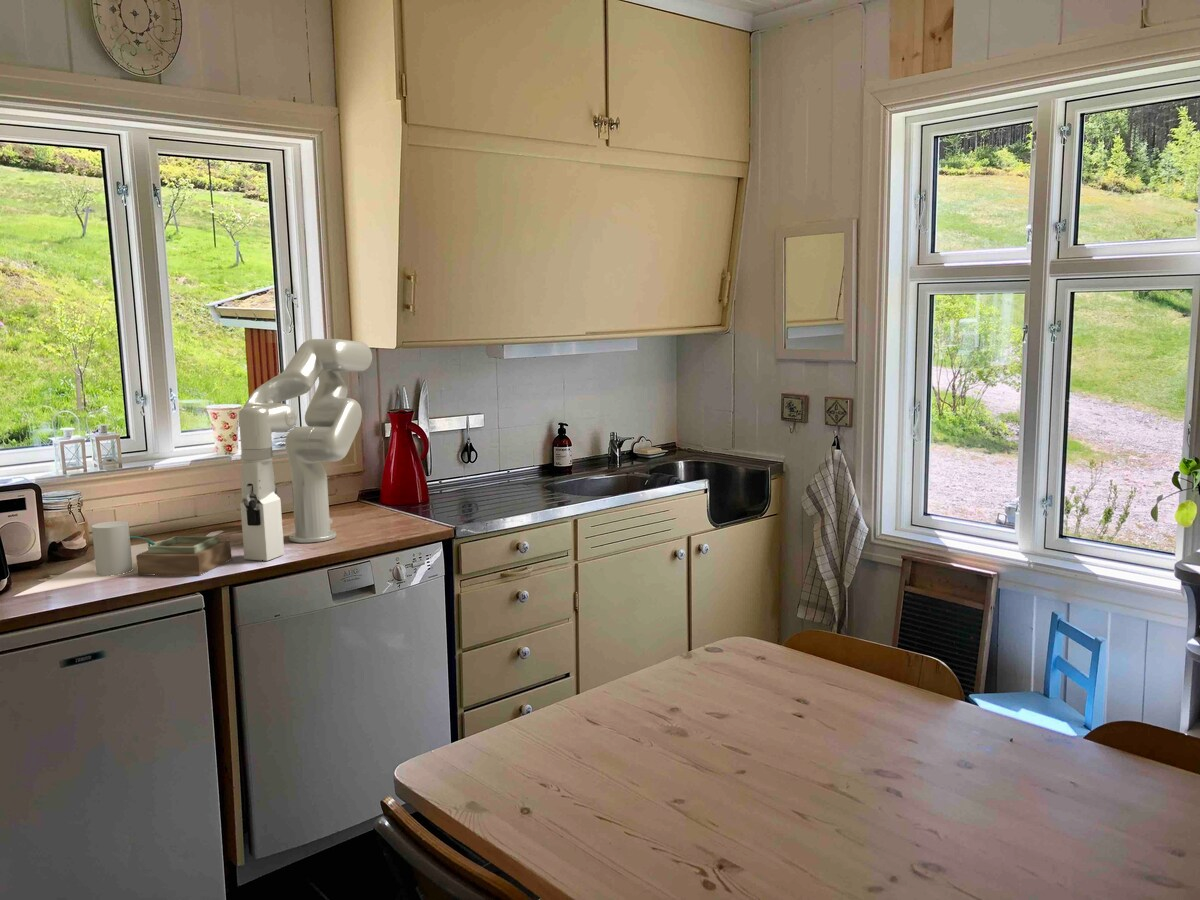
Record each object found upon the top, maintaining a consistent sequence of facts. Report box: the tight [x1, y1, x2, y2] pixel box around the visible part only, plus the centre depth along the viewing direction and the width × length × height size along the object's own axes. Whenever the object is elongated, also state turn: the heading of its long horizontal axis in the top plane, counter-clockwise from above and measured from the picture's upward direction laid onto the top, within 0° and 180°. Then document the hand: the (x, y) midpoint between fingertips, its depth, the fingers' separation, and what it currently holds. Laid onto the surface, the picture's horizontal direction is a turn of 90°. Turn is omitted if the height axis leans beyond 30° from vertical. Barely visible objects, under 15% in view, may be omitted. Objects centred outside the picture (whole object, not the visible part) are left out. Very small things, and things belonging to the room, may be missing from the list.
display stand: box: [135, 535, 233, 576], centre depth 245 cm, size 16×16×6 cm
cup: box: [91, 520, 134, 577], centre depth 242 cm, size 8×8×12 cm
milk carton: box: [239, 492, 285, 562], centre depth 253 cm, size 7×7×19 cm
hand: (261, 521), depth 253 cm, fingers closed on milk carton, 8 cm apart
